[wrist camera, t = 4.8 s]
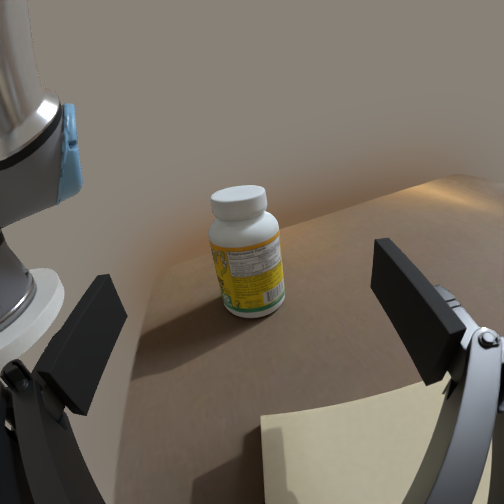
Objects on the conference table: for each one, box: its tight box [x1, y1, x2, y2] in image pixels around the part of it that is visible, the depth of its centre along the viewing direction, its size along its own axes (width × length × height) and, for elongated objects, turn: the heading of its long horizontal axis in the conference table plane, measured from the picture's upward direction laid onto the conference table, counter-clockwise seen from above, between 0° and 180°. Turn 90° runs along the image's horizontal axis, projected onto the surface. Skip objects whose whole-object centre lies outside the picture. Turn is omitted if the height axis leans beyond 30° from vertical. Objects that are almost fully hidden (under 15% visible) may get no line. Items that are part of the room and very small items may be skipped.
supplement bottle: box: [208, 185, 285, 318], centre depth 23 cm, size 5×5×10 cm
